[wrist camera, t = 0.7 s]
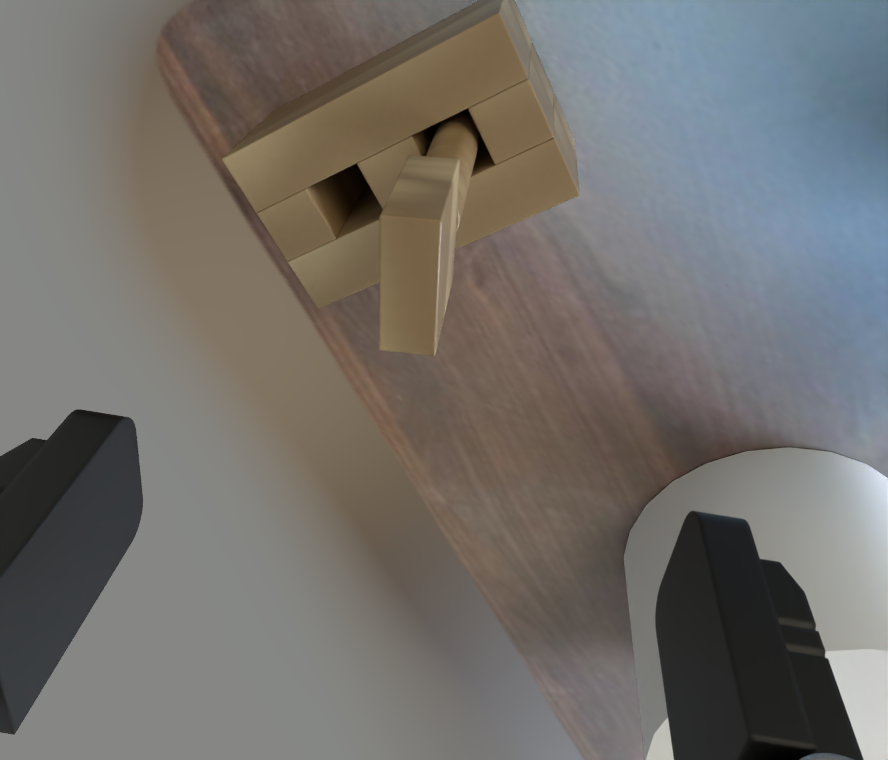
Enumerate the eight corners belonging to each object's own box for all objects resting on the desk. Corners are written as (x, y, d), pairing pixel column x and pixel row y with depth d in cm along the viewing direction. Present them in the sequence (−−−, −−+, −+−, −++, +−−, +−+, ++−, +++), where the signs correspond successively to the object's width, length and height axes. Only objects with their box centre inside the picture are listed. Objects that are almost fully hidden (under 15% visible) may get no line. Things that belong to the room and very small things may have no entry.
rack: (270, 112, 39) (221, 159, 33) (507, -16, 35) (499, 11, 29) (349, 245, 42) (317, 309, 36) (575, 142, 38) (579, 195, 32)
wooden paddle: (446, 146, 39) (374, 350, 23) (451, 57, 37) (374, 214, 21) (484, 149, 39) (438, 357, 23) (491, 60, 37) (445, 221, 21)
